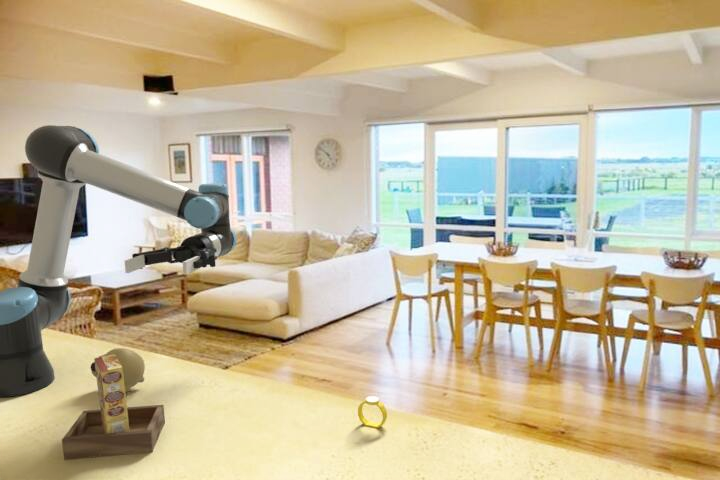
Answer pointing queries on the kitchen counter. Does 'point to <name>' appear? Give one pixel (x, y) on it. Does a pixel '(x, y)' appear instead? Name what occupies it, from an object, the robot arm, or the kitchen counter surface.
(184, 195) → the robot arm
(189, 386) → the kitchen counter surface
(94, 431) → the tray
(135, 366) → the round plush toy
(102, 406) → the candy box
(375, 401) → the gold gem ring
